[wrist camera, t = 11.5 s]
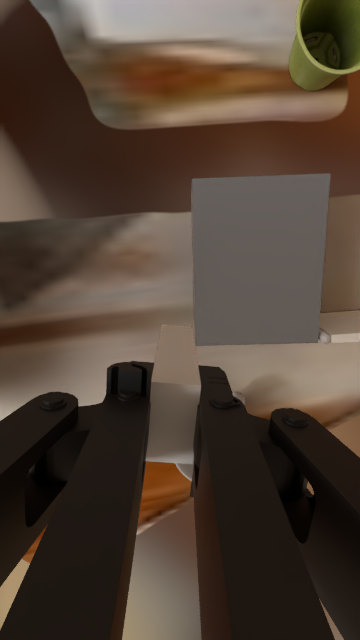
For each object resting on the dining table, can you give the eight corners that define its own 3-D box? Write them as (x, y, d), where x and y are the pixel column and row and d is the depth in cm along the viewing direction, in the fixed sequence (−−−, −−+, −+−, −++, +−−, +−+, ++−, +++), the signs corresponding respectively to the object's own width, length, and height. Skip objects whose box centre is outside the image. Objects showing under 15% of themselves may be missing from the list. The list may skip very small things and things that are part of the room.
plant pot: (283, 118, 41) (308, 87, 32) (265, 33, 39) (287, -24, 30) (359, 91, 40) (404, 53, 32) (345, 3, 38) (390, -64, 29)
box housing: (194, 323, 48) (195, 345, 38) (191, 191, 43) (192, 178, 33) (291, 321, 47) (317, 342, 37) (298, 187, 43) (330, 173, 33)
